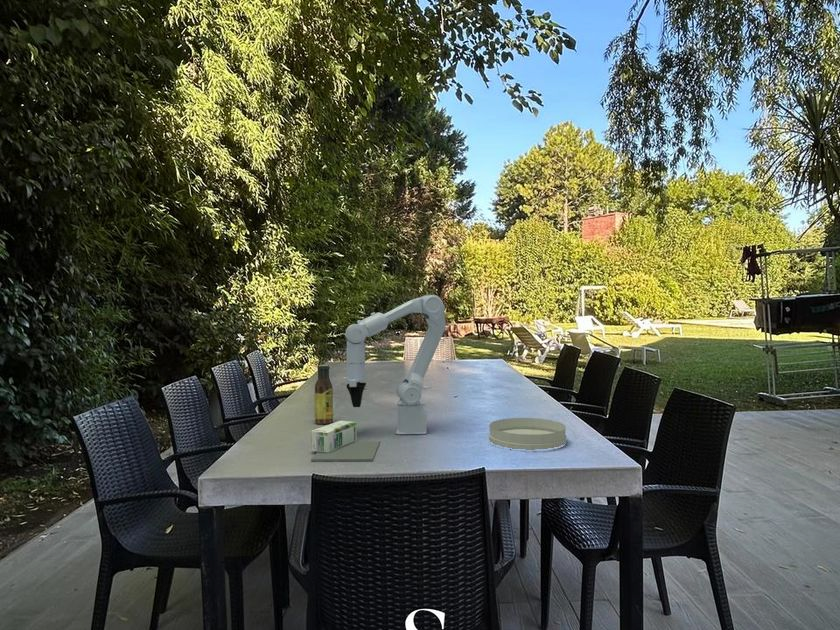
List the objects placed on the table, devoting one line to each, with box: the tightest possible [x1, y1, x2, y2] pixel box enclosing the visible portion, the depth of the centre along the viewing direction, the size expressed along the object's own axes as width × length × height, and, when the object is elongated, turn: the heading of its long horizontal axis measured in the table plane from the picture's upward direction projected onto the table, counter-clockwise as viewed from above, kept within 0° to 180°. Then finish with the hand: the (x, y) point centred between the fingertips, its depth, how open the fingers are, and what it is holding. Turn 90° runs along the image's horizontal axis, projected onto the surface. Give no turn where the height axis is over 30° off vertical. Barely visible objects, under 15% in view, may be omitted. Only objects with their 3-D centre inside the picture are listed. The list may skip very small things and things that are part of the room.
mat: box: [310, 440, 381, 463], centre depth 151 cm, size 16×18×1 cm
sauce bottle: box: [314, 364, 334, 425], centre depth 188 cm, size 6×6×20 cm
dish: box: [488, 417, 567, 450], centre depth 159 cm, size 22×22×5 cm
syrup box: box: [310, 420, 357, 453], centre depth 155 cm, size 6×6×14 cm
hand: (356, 406), depth 169 cm, fingers closed
